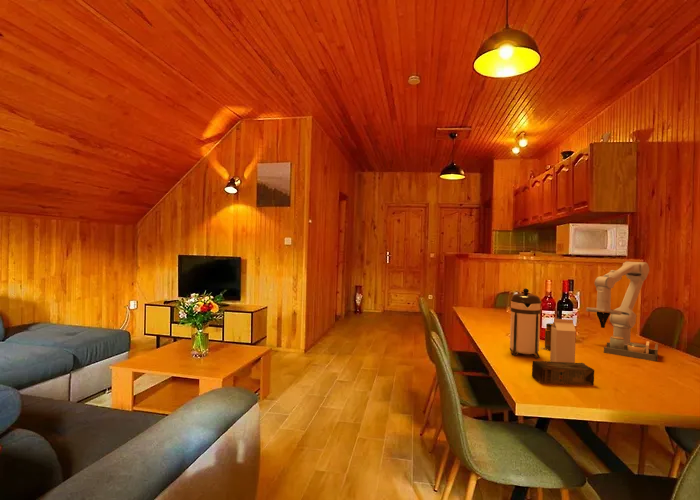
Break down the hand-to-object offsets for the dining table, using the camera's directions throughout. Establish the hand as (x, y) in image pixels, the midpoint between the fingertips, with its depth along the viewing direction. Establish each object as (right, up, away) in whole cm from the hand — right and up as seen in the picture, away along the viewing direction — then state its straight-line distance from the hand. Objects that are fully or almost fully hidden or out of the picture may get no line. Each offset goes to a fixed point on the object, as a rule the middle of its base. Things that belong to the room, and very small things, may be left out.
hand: (602, 327), depth 188 cm
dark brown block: (-49, -9, -51) cm, 72 cm away
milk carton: (-38, -9, -32) cm, 51 cm away
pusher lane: (+4, -10, -13) cm, 17 cm away
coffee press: (-48, -9, -16) cm, 51 cm away
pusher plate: (+9, -10, -17) cm, 21 cm away
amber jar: (+6, -10, -14) cm, 18 cm away
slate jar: (0, -10, -10) cm, 14 cm away
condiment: (-29, -9, -8) cm, 32 cm away
